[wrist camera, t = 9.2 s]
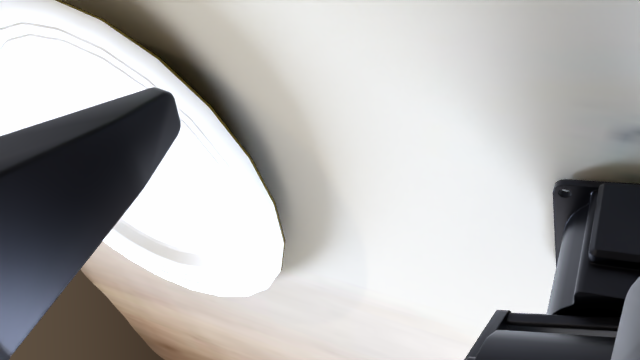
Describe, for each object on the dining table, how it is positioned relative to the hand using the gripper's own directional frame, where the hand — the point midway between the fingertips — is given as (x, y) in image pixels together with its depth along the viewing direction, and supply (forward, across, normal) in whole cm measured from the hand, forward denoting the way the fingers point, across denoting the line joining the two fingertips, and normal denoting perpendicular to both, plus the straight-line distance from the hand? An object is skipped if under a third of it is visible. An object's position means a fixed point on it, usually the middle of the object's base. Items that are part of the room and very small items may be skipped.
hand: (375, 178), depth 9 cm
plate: (+13, +24, +22) cm, 35 cm away
